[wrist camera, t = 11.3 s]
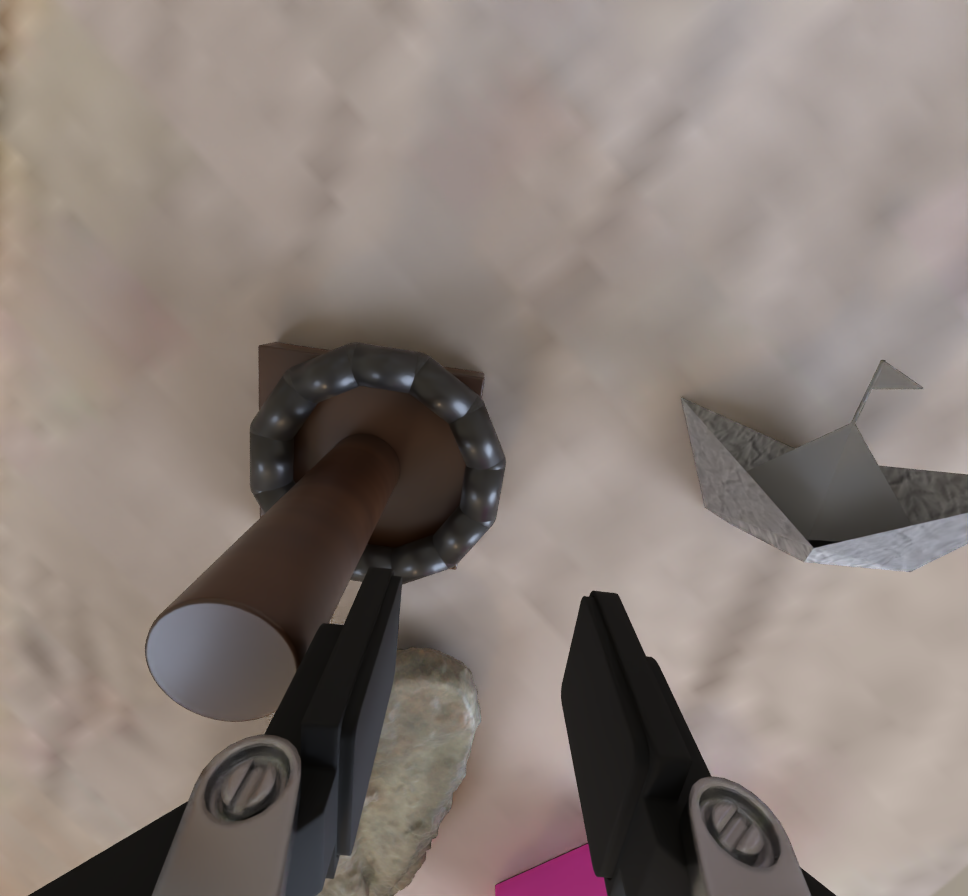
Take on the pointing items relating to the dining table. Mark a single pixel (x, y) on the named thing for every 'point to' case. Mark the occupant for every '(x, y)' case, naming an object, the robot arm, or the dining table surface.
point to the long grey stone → (411, 773)
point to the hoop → (397, 374)
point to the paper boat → (828, 492)
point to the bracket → (557, 878)
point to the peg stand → (306, 543)
